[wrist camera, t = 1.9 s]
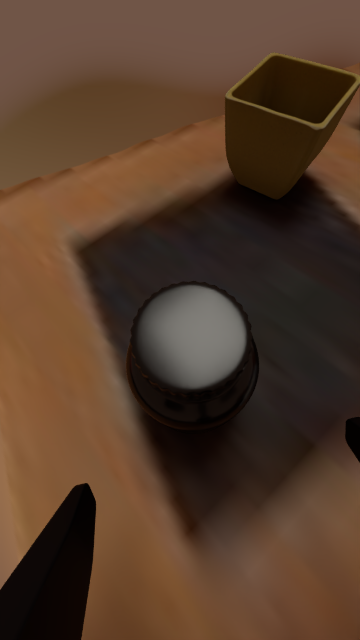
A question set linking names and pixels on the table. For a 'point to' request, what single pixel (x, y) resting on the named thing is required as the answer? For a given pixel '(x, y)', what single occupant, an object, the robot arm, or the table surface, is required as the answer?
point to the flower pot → (283, 120)
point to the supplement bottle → (192, 357)
